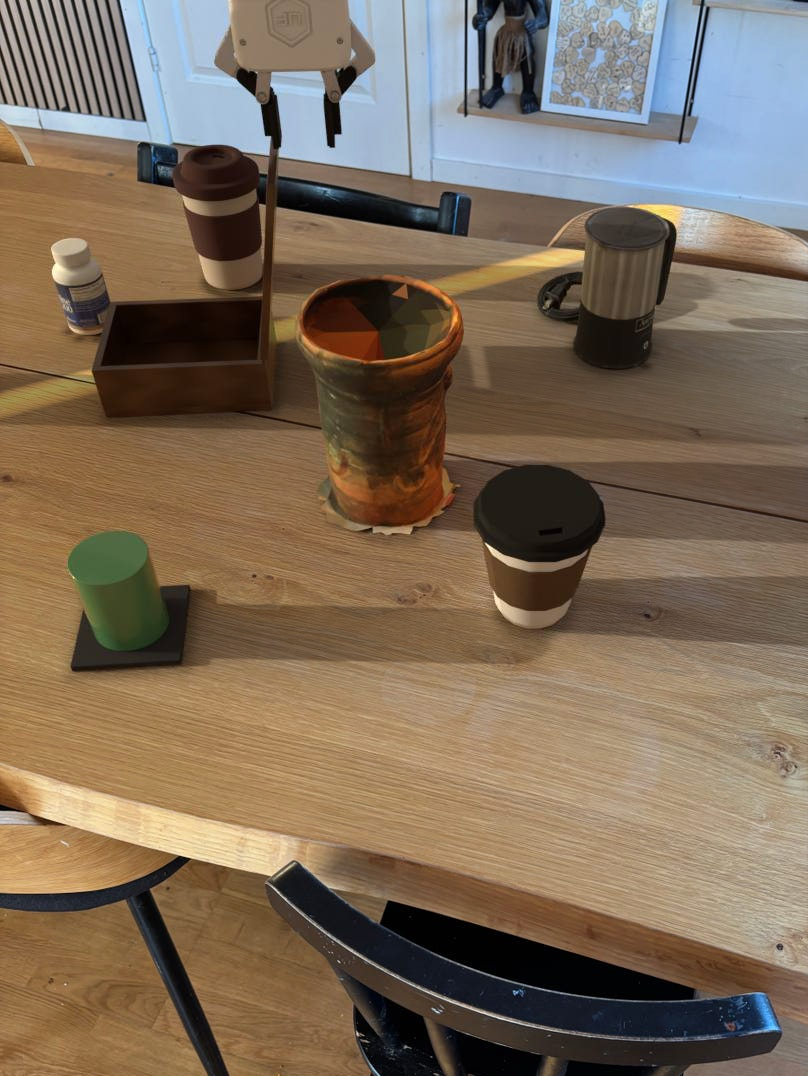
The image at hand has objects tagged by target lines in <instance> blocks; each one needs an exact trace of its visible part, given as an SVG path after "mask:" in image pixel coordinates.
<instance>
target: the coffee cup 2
mask: <svg viewBox="0 0 808 1076" xmlns="http://www.w3.org/2000/svg"><path fill="white" fill-rule="evenodd" d="M472 506H473V507H472V510H473V515H472V516H473V527H474V529H475V530H476V532H477V534H478V535H479V536H480V538H481V543H482V549H483V555H484V560H485V565H486V566H485V567H486V570H487V575H488V582H489V586H490V588H491V589H492V592H493V597H494V603H495V605H496V607H497V609H498V610H499V612H500V613H501V616H503V618H504V619H505V620H507V621H508V622H510V623H511V624H513V625H514V626H517V627H520V628H524V629H526V630H527V629H528V630H529V629H530V630H531V629H533V630H534V629H535V630H539V629H543V628H546V627H550V626H553V625H554V624H555V623H557V622H558V621H559V620H561V619H562V618H563V617H564V616H565V615H566V614H567V611H568V610H569V607H570V605H571V603H572V599H573V598H574V596H575V594H576V592H577V591H578V588H579V586H580V583H581V580H582V578H583V574H584V572H585V569H586V566H587V563H588V561H589V557H590V554H591V551H592V549H593V546H594V545H596V544H597V543H598V542H599V540H600V538H601V536H602V533H603V531H604V529H605V527H606V523H607V519H606V511H605V504H604V501H603V500H602V499H601V497H600V495H599V493H598V492H597V490H596V489H595V488H594V486H593V485H592V484H591V483H590V481H589V480H588V479H585V478H584V477H582V476H580V475H578V474H577V473H575V472H573V471H572V470H570V469H568V468H567V469H566V468H562V467H559V466H556V465H551V464H523V465H519V466H515V467H512V468H507V469H504V470H502V471H501V472H499V473H498V474H496V475H495V476H493V477H491V478H489V479H488V480H487V481H486V483H485V485H483V487H482V488H481V489H480V491H479V493H478V495H476V498H475V499H474V501H473V505H472Z"/></svg>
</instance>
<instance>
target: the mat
mask: <svg viewBox="0 0 808 1076" xmlns="http://www.w3.org/2000/svg"><path fill="white" fill-rule="evenodd" d="M160 587H161V590H162V593H163V596H164V600H165V603H166V606H167V609H168V613H169V624H168V627H167V629H166V631H165V632H164V634H163V635H162V636H161V637H160V638H159V639H158V640H156V641H155V642H153V643H152V644H150V645H148V646H146V647H144V648H141V649H137V650H133V651H115V650H111V649H108V648H106V647H104V646H103V645H101V644H100V643H99V642H98V641H97V640H96V638H95V636H94V633H93V631H92V628H91V626H90V623H89V621H88V618H87V616H86V613H85V611H84V608H83V607H82V612H81V617H80V621H79V627H78V631H77V634H76V640H75V645H74V649H73V652H72V653H73V654H72V657H71V662H70V670H71V671H72V672H80V671H82V672H83V671H96V670H112V669H113V670H114V669H115V670H116V669H128V668H129V669H130V668H145V667H161V666H162V667H163V666H176V665H182V661H183V654H184V652H183V651H184V645H185V637H186V629H187V622H188V613H189V606H190V599H191V598H190V597H191V585H190V584H176V585H160Z"/></svg>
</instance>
